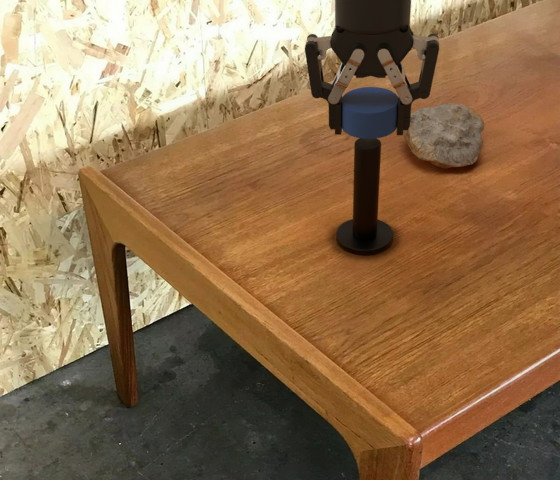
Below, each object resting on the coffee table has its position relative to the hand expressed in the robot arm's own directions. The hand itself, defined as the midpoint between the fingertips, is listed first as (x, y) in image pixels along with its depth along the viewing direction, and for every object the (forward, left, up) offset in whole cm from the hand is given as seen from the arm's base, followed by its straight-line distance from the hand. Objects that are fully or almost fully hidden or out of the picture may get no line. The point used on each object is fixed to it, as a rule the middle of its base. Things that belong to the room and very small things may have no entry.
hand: (369, 131), depth 88 cm
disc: (0, 0, +1) cm, 1 cm away
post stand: (0, 0, -14) cm, 14 cm away
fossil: (-10, -21, -15) cm, 28 cm away
